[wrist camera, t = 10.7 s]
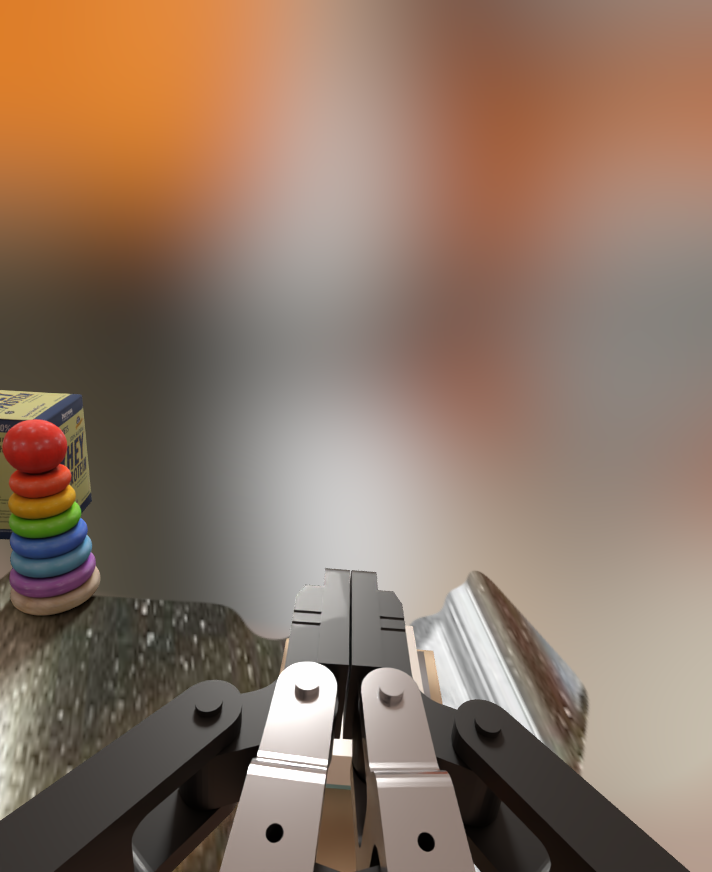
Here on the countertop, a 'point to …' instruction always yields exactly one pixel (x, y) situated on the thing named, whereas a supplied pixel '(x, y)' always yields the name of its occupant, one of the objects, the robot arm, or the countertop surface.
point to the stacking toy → (46, 524)
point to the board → (337, 805)
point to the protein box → (62, 411)
